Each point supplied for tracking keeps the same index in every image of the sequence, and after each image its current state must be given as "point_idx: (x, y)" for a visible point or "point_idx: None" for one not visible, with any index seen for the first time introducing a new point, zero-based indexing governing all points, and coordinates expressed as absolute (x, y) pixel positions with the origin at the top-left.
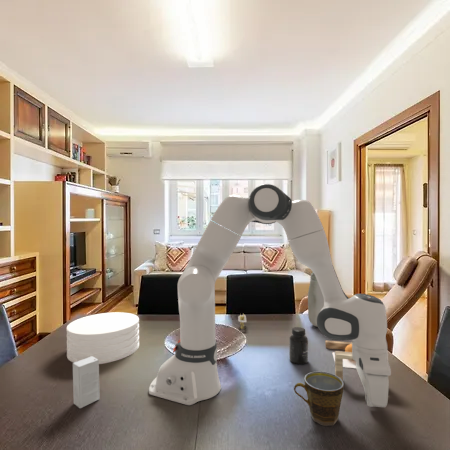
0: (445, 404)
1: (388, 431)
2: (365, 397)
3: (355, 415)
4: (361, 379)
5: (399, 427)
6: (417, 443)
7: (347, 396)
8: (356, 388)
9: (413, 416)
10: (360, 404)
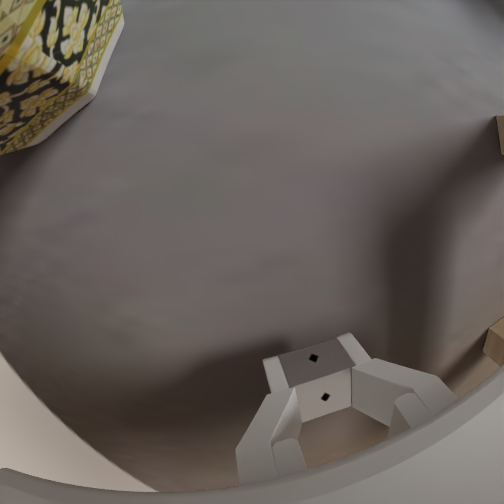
0: None
1: (123, 413)
2: (345, 350)
3: (163, 252)
4: (460, 446)
5: (190, 444)
6: (127, 468)
7: (405, 174)
8: (484, 231)
9: (306, 463)
10: (337, 273)
